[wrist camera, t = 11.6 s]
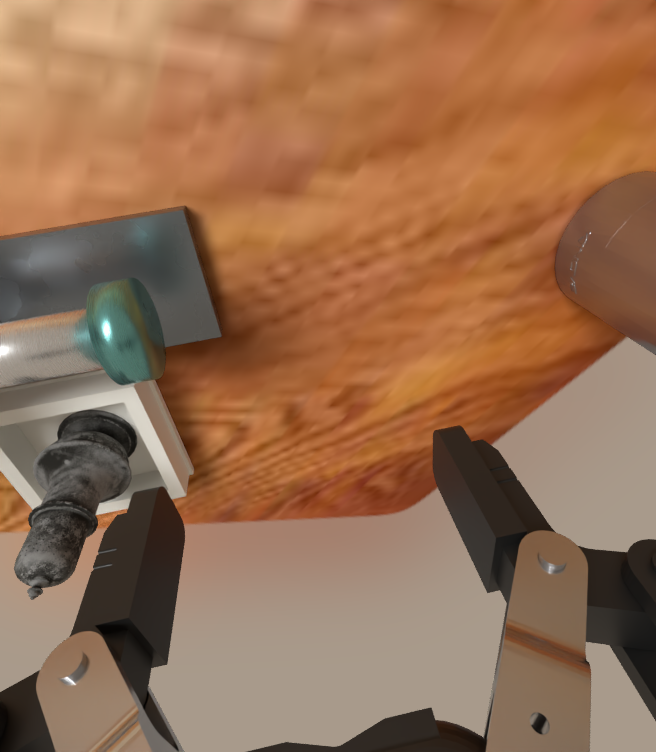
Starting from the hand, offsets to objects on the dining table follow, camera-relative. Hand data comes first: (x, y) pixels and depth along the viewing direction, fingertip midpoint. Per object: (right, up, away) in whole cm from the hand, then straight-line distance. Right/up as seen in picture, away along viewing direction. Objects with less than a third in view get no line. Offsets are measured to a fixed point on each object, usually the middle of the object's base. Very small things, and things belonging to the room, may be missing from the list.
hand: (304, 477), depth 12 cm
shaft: (-15, +5, +10) cm, 19 cm away
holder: (-16, -1, +19) cm, 25 cm away
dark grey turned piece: (-16, -1, +19) cm, 25 cm away
